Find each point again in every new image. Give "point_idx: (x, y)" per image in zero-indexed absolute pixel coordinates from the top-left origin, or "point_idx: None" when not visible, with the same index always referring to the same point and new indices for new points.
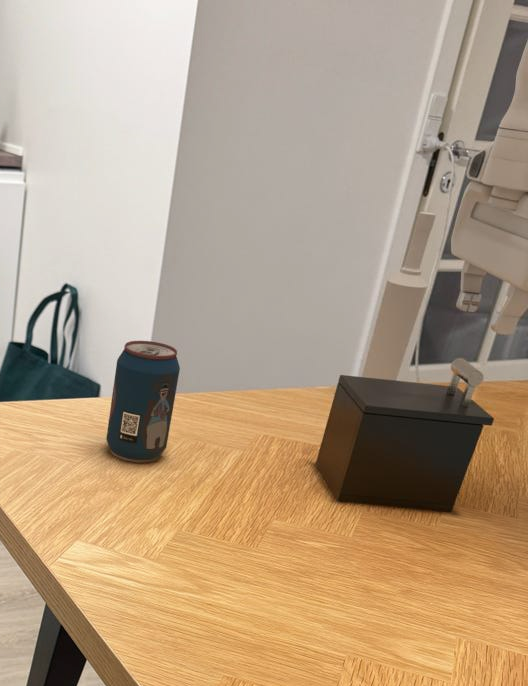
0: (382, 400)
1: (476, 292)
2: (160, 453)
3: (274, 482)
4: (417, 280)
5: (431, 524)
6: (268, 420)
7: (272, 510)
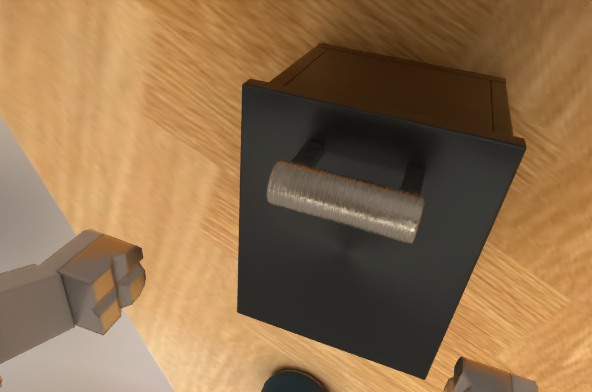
0: (390, 335)
1: (60, 285)
2: (318, 388)
3: None
4: None
5: (551, 150)
6: (140, 193)
7: (465, 343)
